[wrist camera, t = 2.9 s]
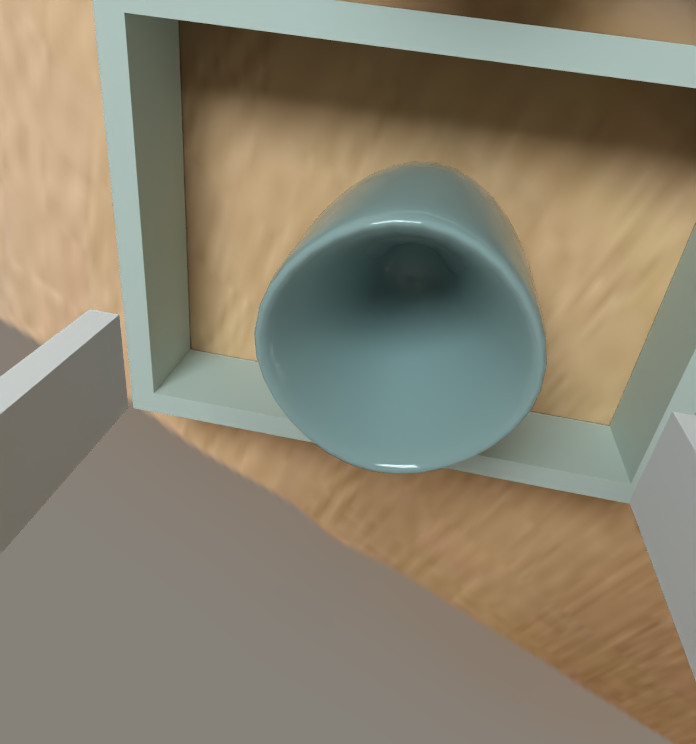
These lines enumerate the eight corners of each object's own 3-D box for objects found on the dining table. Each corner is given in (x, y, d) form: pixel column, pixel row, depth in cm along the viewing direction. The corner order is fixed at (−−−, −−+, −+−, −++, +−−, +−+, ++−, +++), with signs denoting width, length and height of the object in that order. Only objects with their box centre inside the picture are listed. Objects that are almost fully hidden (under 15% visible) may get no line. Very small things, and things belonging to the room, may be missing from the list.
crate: (150, -22, 21) (89, -32, 17) (798, 60, 19) (872, 68, 16) (171, 363, 29) (133, 408, 26) (624, 447, 27) (647, 507, 24)
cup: (395, 358, 27) (364, 511, 19) (288, 219, 25) (196, 322, 16) (553, 268, 24) (603, 404, 15) (448, 97, 21) (438, 147, 13)
